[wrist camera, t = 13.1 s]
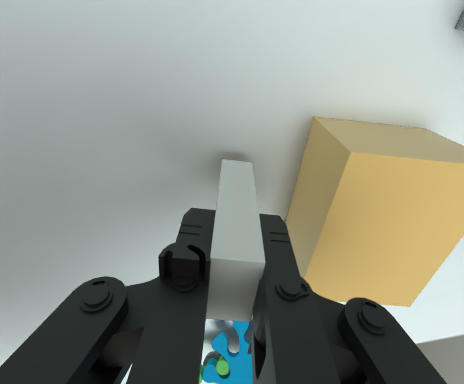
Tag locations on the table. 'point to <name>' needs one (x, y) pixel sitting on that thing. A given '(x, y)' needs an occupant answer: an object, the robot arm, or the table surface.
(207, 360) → the blue lobed piece
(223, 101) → the table surface
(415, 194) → the block
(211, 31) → the table surface
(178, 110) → the table surface
